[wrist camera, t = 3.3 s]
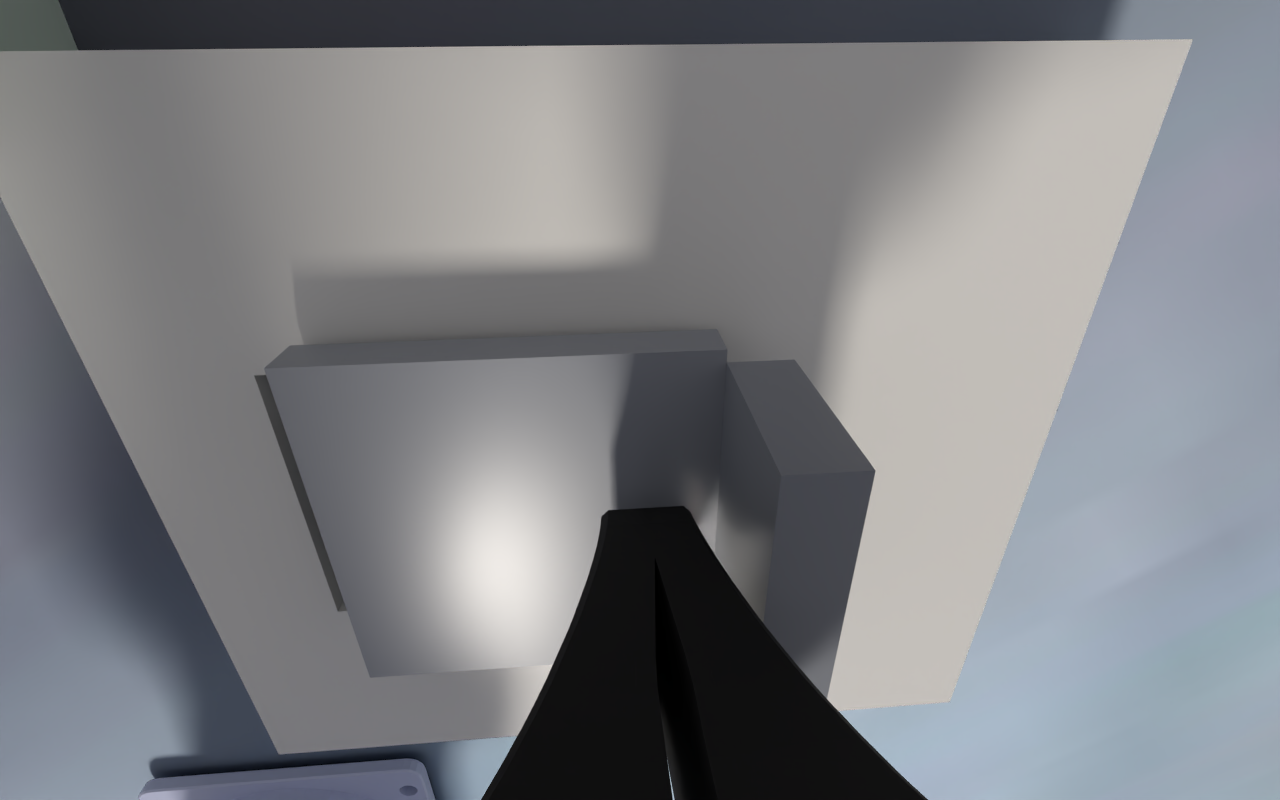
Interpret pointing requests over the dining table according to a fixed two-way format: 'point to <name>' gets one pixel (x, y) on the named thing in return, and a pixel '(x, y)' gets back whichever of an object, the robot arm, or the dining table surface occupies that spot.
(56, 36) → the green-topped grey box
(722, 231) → the socket
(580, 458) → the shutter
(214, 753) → the dining table surface
